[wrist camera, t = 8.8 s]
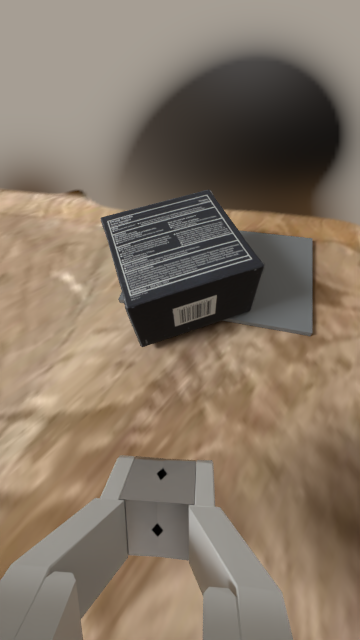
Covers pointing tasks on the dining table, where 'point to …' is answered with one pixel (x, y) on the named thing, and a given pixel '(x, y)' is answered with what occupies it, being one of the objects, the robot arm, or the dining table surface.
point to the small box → (181, 266)
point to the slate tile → (280, 284)
